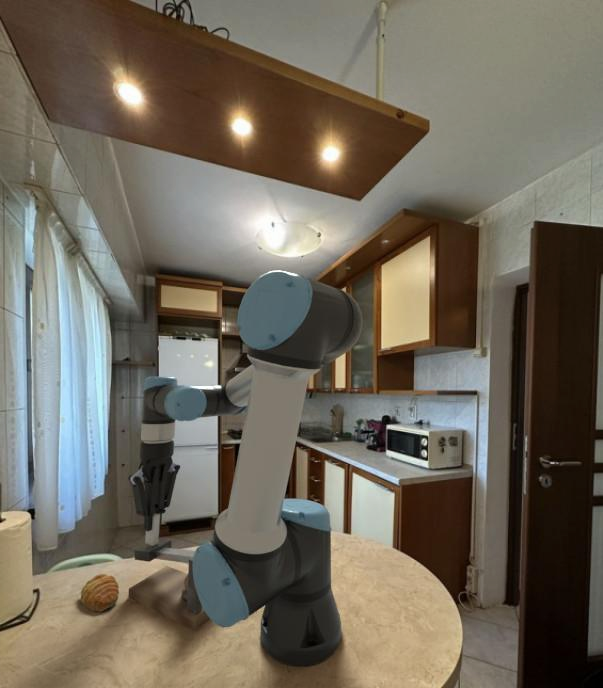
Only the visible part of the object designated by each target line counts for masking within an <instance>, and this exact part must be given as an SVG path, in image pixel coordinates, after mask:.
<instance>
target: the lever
mask: <svg viewBox="0 0 603 688" xmlns="http://www.w3.org/2000/svg"><path fill="white" fill-rule="evenodd" d="M195 551H196V550H191V549H181V548H172V539H171V540H169V539H161V538H159V540H158V543H157V544H155V545H154V546H152V545H149V544H147V543H145V544H144V545H142V546H140V547H138V548H136V549H135V550H134V560H135V561H143V562H148V563H150V562H152V561H153V560H163V561H170V562H175V563H182V564H189V559H190V558H192V557H193V556H194V553H195Z"/></svg>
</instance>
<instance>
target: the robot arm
mask: <svg viewBox="0 0 603 688" xmlns="http://www.w3.org/2000/svg"><path fill="white" fill-rule="evenodd" d="M236 322H237V327H238V329H239V331H238V333H239V336H240V338H241V340H242V341H243V343H244V344H245V345H247V346H248V349H247V355H246V357H247V359H248V360H249V361H250V363H251V364H250V365H249V366H248V367H246V368H244V369H243V370H242V371H240V373H239V372H238V374H236V375H235V376H233V378H231V379H229V380H228V381H227V382H225V383H224V384H217V385H215V384H212V385H210V384H207V385H201V384H199V385H185V384H183V385H178V379H177V378H176V377H175V376H148V377H146V379H144V385H143V391H142V396H143V398H142V413H141V414H142V415H141V416H142V418H141V430H140V431H141V432H140V441H141V440H142V442H140V447H139V458H140V463H139V466H138V470H137V472H135V473H134V474H130V475H129V476H128V481H129V483H130V485H131V487H132V494H133V501H134V508H135V513H136V515H138V516H141V517H143V518H144V519H143V530H144V531H145V537H144V539H145V542H144V543H145V544H149V545H152V546H154V545H155V544H157V543H158V540H159V539H160V538H159V536H160V527H161V526H162V522H163V520H162V519H163V514H165V513H166V511H167V510H166V508H169V507H170V506H171V503H172V501H171V500H172V496H173V493H174V488H175V483H176V479H177V475H178V473H179V471H180V469H181V465H180V464H176V463H174V461H173V457H172V456H174V453H175V450H174V449H175V441H174V440H173V439H174V438H175V435H176V421H179V422H191V421H196V420H197V419H200V418H201V419H202V418H209V417H223V416H237V415H240V414H245V417H244V423H243V427H242V433H241V439H240V443H239V449H238V453H237V454H238V455H237V460H236V466H235V470H234V475H233V476H234V477H233V481H232V485H231V491H230V497H229V502H228V508H226V509H225V510H223V511H222V512H221V513H220V514H219V515H218V516H217V518H216V521H215V525H214V529H213V534H212V537H211V538H212V539H211V540H210V541H204V542H203V543H202V544H201V545H199V546H198V547H197V548H196V549H195V550H194V551H195V553H194V556H193V578H194V583H195V588H196V591H197V594H198V597H199V600H200V602H201V605H202V607H203V609H204V610H205V612H206V614H207V615H208V617H209V619H210V620H211V622H213V623H214V624H215V625H217V626H218V627H221V628H230V627H233V626H234V625H236V624H237V623H240V622H242V621H247V619H248V618H249V617H250V616H252V615H253V614H255V613H256V612H258V611H259V610H260V609H262V608H263V611H262V614H261V619H260V641H261V645H262V647H263V649H264V650H265V651H266V652H267V654H268V655H270V657H271V658H273V659H275V660H276V661H278V662H280V663H282V664H286V665H289V666H295V667H307V666H312V665H315V664H319V663H321V662H323V661H326V660H327V659H329V658H330V657H331V656H332V655H333V654H334V653H335V652H336V650H337V649H338V647H339V645H340V644H341V641H342V622H341V619H342V618H341V614H340V613H339V612H340V611H339V609H338V606H337V602H336V599H335V596H334V592H333V589H332V544H331V543H332V539H331V537H332V536H331V534H332V532H331V531H332V527H331V516H330V512H329V510H328V509H327V507H326V506H325V505H323V504H321V503H318V502H316V501H312V500H310V499H309V500H308V499H303V498H302V499H301V498H285V497H286V492H287V486H288V483H289V477H290V472H291V467H292V462H293V457H294V453H295V447H296V443H297V437H298V432H299V428H300V424H301V423H300V422H301V418H302V413H303V408H304V403H305V398H306V395H307V394H306V392H307V389H308V388H307V387H308V382H309V379H310V378H311V377H313V376H314V375H316V373H318V372H319V371H321V368H322V367H324V366H326V365H328V364H329V363H331V362H333V361H336V360H337V359H338V358H340V357H341V356H343V355H345V354H346V353H347V352H349V351H350V350H351V349H352V348H353V347H354V346H355V345H356V343H357V342H358V340H359V338H360V336H361V334H362V329H363V314H362V310H361V308H360V306H359V304H358V302H357V301H356V300H355V298H354V297H353V296H351V294H350V293H348V292H346V291H345V290H343V289H340V288H338V287H334V286H331V285H328V284H327V283H326V284H325V283H322V282H320V281H319V280H316V279H312V278H309V277H308V276H307V277H306V276H305V275H303V274H297V273H293V272H288V271H285V270H284V271H283V270H272V271H268V272H267V273H264V274H262V275H260V276H259V277H258V278H257V279H256V280H255V281H254V282H252V283H251V284H250V286H249V287H248V288H247V290H246V292H245V294H244V295H243V297H242V299H241V303H240V305H239V308H238V313H237V321H236Z"/></svg>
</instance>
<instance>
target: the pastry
mask: <svg viewBox="0 0 603 688" xmlns="http://www.w3.org/2000/svg"><path fill="white" fill-rule="evenodd" d="M119 594H120V591H119V583H118V582H117V580H116V578H115V577H114V575H113V576H112V575H108V574H106V573H100V574H97V575H94V576H93V577H92V578H91V579H89V580H88V581H87V582H86V583H85V584H84V586H83V588H82V589H81V591H80V600H81V603H82V605H83V606H85V607H86V608H87V609H89V610H91V611H93V612H99V613H100V612H101V613H102V612H103V611H105V610H107V609H108V608H112V607H113V606H114V605H116V603H117V602H118V599H119Z"/></svg>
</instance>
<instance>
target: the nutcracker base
mask: <svg viewBox="0 0 603 688" xmlns="http://www.w3.org/2000/svg"><path fill="white" fill-rule="evenodd" d="M187 570H188V571H187V572H188V573H187V572H184V571H182V570H179V569H176V568H173V567H171V566H168V565H166V566H164V567H162V568H160V569H159V570H157V571H156V572H154V573H152V574H151V575H149V576H147V577H145V578H144V579H142V580H141V581H139V582H137V583H136V584H134V585H132V586H131V587H129V588H128V595H127V597H128V598H127V599H129V598H130V599H129V600H131V599H132V600H131V601H133V600H134V601H133V602H135V601H136V602H135V603H137V602H138V603H137V604H139V603H140V604H139V605H141V604H142V605H141V606H143V605H144V606H143V607H145V606H146V607H145V608H147V607H148V608H147V609H149V610H151V611H153V610H154V612H155V613H158V614H160V615H162V616H164V617H166V618H168V619H170V620H172V621H174V622H177V623H178V624H181V625H182V626H185V627H187V628H188V629H190V630H193V631H196V630H197V629H199V628H200V627H201V626H202V625H203V624H205V622H207V621H208V620H209V619H210V618H209V617H208V615H207V614H206V612H205V610H204V609H203V607H202V605H201V602H200V600H199V597H198V594H197V591H196V588H195V583H194V578H193V557H192V558H190V559H189V563H188V569H187Z"/></svg>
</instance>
